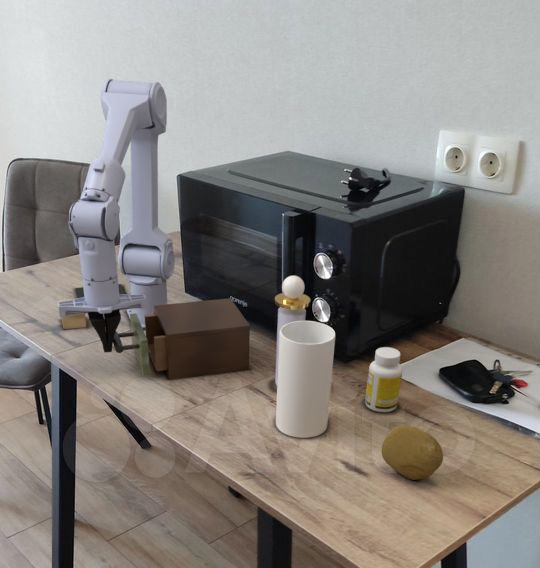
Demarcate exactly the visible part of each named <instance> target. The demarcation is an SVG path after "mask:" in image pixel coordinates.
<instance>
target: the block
mask: <svg viewBox="0 0 540 568" xmlns="http://www.w3.org/2000/svg"><path fill="white" fill-rule="evenodd" d="M74 299H75V298H67V299H59V300H58V302H64V301H69V300H74ZM76 299H78V297H77V298H76ZM60 318H61V323H62V328H63V330H70V329H71V330H72V329H80V328H81V329H82V328H87V321H86V313H84V314H74V315H66V317H60Z"/></svg>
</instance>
